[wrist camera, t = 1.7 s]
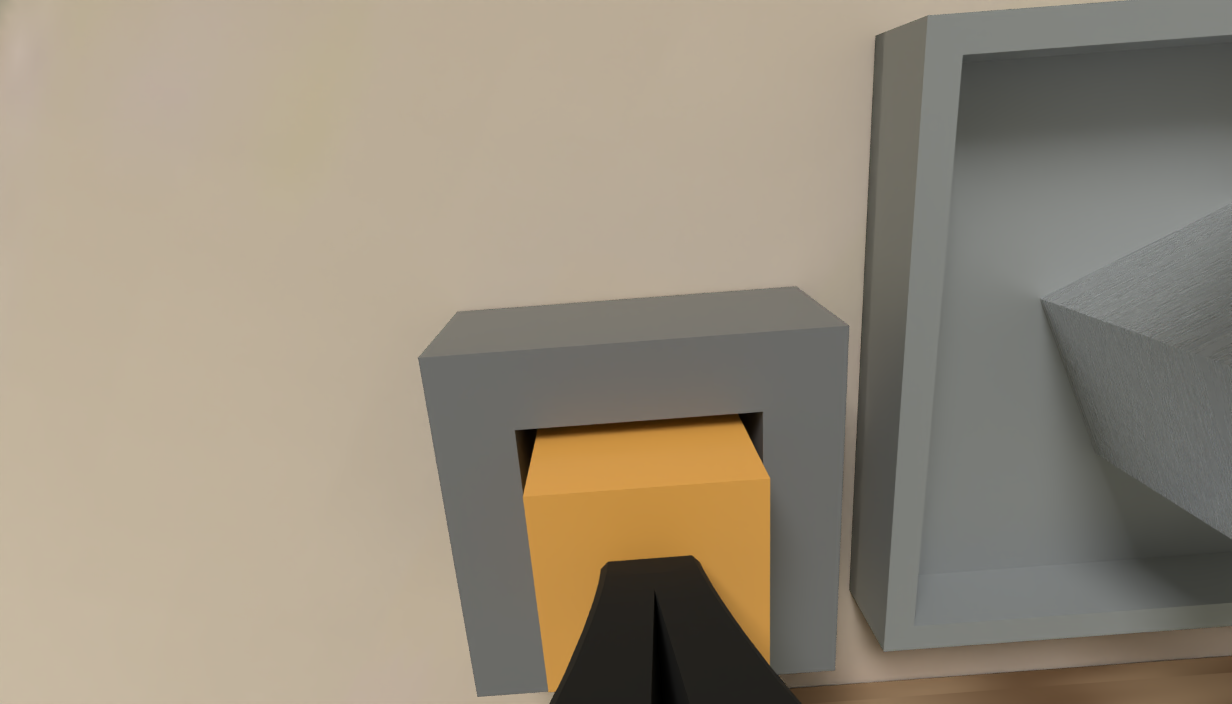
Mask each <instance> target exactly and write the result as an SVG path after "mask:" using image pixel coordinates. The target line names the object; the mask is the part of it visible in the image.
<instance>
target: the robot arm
mask: <svg viewBox="0 0 1232 704" xmlns="http://www.w3.org/2000/svg"><path fill="white" fill-rule="evenodd" d="M550 704H802V703H801V702H800V701H799V700H798V699H797V698H796V696H795V695H794V694H793V693H792V692H791V691H790V689H789V688H788V687H787V686H786V685H785V683H784V682H783V681H782V680H781V679H780V677H779V676H778V675H777V674H776V672H775V671H774V670H773V669H772V668H771V666H770V665H769V664H768V662H767V661H766V660H765V659H764V657H763V656H762V655H761V653H760V652H759V651H758V649H757V648H756V647H755V645H754V644H753V643H752V642H751V640H750V639H749V638H748V636H747V635H746V634H745V632H744V631H743V630H742V628H741V627H740V625H739V624H738V623H737V621H736V620H735V618H734V617H733V616H732V614H731V613H730V611H729V610H728V608H727V607H726V605H725V604H724V602H723V601H722V599H721V598H720V596H719V595H718V593H717V591H716V590H715V588H714V587H713V585H712V583H711V582H710V580H709V578H708V576H707V575H706V573H705V571H704V569H703V567H702V565H701V563H700V562H699V561H698V560H697V559H696V558H695V557H693V556H692V555H688V556H675V557H661V558H648V559H635V560H622V561H609V562H607V563H606V564H605V565H604V566H603V567H602V568H601V571H600V577H599V582H598V586H597V590H596V593H595V597H594V600H593V603H592V606H591V609H590V612H589V615H588V617H587V620H586V623H585V626H584V628H583V631H582V633H581V636H580V638H579V640H578V643H577V645H576V648H575V650H574V652H573V655H572V657H571V659H570V662H569V664H568V667H567V669H566V671H565V673H564V675H563V678H562V680H561V682H560V684H559V686H558V688H557V690H556V692H555V694H554V696H553V698H552V700H551V702H550Z"/></svg>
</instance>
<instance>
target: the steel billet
mask: <svg viewBox="0 0 1232 704" xmlns="http://www.w3.org/2000/svg"><path fill="white" fill-rule="evenodd" d="M1040 300H1041V302H1042V305H1043V308H1044V311H1045V314H1046V316H1047V319H1048V322H1049V325H1050V328H1051V330H1052V333H1053V336H1054V339H1055V342H1056V344H1057V347H1058V350H1059V353H1060V356H1061V358H1062V361H1063V364H1064V367H1065V370H1066V372H1067V375H1068V378H1069V381H1070V384H1071V386H1072V389H1073V392H1074V395H1075V398H1076V400H1077V403H1078V406H1079V409H1080V412H1081V414H1082V417H1083V420H1084V423H1085V426H1086V428H1087V431H1088V434H1089V437H1090V440H1091V442H1092V445H1093V448H1094V451H1095V454H1097V455H1099V456H1100V457H1102V458H1103V459H1105V460H1107V461H1108V462H1110V463H1111V464H1113V465H1114V466H1116V467H1118V468H1119V469H1121V470H1122V471H1124V472H1126V473H1127V474H1129V475H1130V476H1132V477H1134V478H1135V479H1137V480H1138V481H1140V482H1141V483H1143V484H1145V485H1146V486H1148V487H1149V488H1151V489H1153V490H1154V491H1156V492H1157V493H1159V494H1161V495H1162V496H1164V497H1165V498H1167V499H1168V500H1170V501H1172V502H1173V503H1175V504H1176V505H1178V506H1180V507H1181V508H1183V509H1184V510H1186V511H1188V512H1189V513H1191V514H1192V515H1194V516H1195V517H1197V518H1199V519H1200V520H1202V521H1203V522H1205V523H1207V524H1208V525H1210V526H1211V527H1213V528H1215V529H1216V530H1218V531H1219V532H1221V533H1222V534H1224V535H1226V536H1227V537H1229V538H1230V539H1232V203H1230V204H1228V205H1226V206H1224V207H1222V208H1220V209H1218V210H1216V211H1214V212H1212V213H1210V214H1208V215H1206V216H1204V217H1202V218H1200V219H1198V220H1196V221H1194V222H1192V223H1190V224H1188V225H1186V226H1184V227H1182V228H1180V229H1178V230H1176V231H1174V232H1172V233H1170V234H1168V235H1166V236H1164V237H1162V238H1160V239H1158V240H1156V241H1154V242H1152V243H1150V244H1148V245H1146V246H1144V247H1142V248H1140V249H1138V250H1136V251H1134V252H1132V253H1130V254H1128V255H1126V256H1124V257H1122V258H1120V259H1118V260H1116V261H1114V262H1112V263H1110V264H1108V265H1106V266H1104V267H1102V268H1100V269H1098V270H1096V271H1094V272H1092V273H1090V274H1088V275H1086V276H1084V277H1082V278H1080V279H1078V280H1076V281H1074V282H1072V283H1070V284H1068V285H1066V286H1064V287H1062V288H1060V289H1058V290H1056V291H1054V292H1052V293H1050V294H1048V295H1046V296H1044V297H1042V298H1040Z"/></svg>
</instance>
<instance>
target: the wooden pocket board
mask: <svg viewBox="0 0 1232 704" xmlns="http://www.w3.org/2000/svg"><path fill="white" fill-rule="evenodd" d="M790 691H791V692H792V693H793V694H794V695H795V696H796V698H797V699H798V700H799V701H800V702H801V703H802V704H1232V656H1225V657H1211V658H1198V659H1184V660H1171V661H1157V662H1143V663H1130V664H1116V665H1103V666H1089V667H1076V668H1062V669H1049V670H1035V671H1022V672H1008V673H995V674H981V675H968V676H954V677H940V678H927V679H913V680H900V681H886V682H873V683H859V684H846V685H832V686H819V687H805V688H792V689H790Z"/></svg>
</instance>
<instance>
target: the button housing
mask: <svg viewBox="0 0 1232 704" xmlns="http://www.w3.org/2000/svg"><path fill="white" fill-rule="evenodd" d="M848 342H849V325H848V324H846V323H845V322H844V321H842V320H841V319H840V318H838V317H837V316H835V315H834V314H833V313H831V312H830V311H829V310H827V309H826V308H825V307H823V306H822V305H821V304H819V303H818V302H817V301H815V300H814V299H813V298H811V297H810V296H808V295H807V294H806V293H804V292H803V291H802V290H800V289H799V288H798V287H796V286H795V287H782V288H769V289H755V290H742V291H729V292H715V293H702V294H689V295H675V296H662V297H649V298H635V299H622V300H609V301H595V302H582V303H569V304H555V305H542V306H529V307H515V308H502V309H489V310H475V311H462V312H457V313H456V314H455V315H454V316H453V317H452V319H451V320H450V321H449V322H448V323H447V325H446V326H445V327H444V328H443V329H442V330H441V332H440V333H439V334H438V335H437V336H436V337H435V339H434V340H433V341H432V342H431V343H430V345H429V346H428V347H427V348H426V349H425V350H424V352H423V353H422V354H421V355H420V356H419V357H418V360H419V366H420V371H421V377H422V383H423V388H424V394H425V400H426V406H427V411H428V417H429V423H430V428H431V434H432V440H433V446H434V451H435V457H436V463H437V468H438V474H439V480H440V486H441V491H442V497H443V503H444V508H445V514H446V520H447V525H448V531H449V537H450V543H451V548H452V554H453V560H454V565H455V571H456V577H457V583H458V588H459V594H460V600H461V605H462V611H463V617H464V623H465V628H466V634H467V640H468V645H469V651H470V657H471V663H472V668H473V674H474V680H475V685H476V691H477V697H482V696H495V695H509V694H522V693H536V692H548V685H547V677H546V669H545V662H544V654H543V647H542V639H541V631H540V624H539V616H538V609H537V601H536V593H535V586H534V578H533V571H532V563H531V555H530V548H529V540H528V533H527V525H526V517H525V510H524V502H523V494H524V489H525V485H526V480H527V476H528V471H529V467H530V462H531V458H532V453H533V449H534V444H535V440H536V435H537V431H538V428H551V427H564V426H577V425H591V424H604V423H618V422H631V421H644V420H658V419H671V418H685V417H698V416H711V415H725V414H738V415H739V417H740V419H741V421H742V423H743V425H744V427H745V429H746V431H747V433H748V435H749V437H750V439H751V441H752V443H753V445H754V447H755V449H756V451H757V453H758V455H759V457H760V459H761V461H762V463H763V465H764V467H765V469H766V471H767V473H768V475H769V477H770V666H771V668H772V669H773V670H774V671H775V672H776V674H777V675H779V674H793V673H806V672H820V671H833V670H835V659H836V635H837V611H838V586H839V562H840V537H841V513H842V489H843V464H844V440H845V415H846V391H847V367H848Z"/></svg>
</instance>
